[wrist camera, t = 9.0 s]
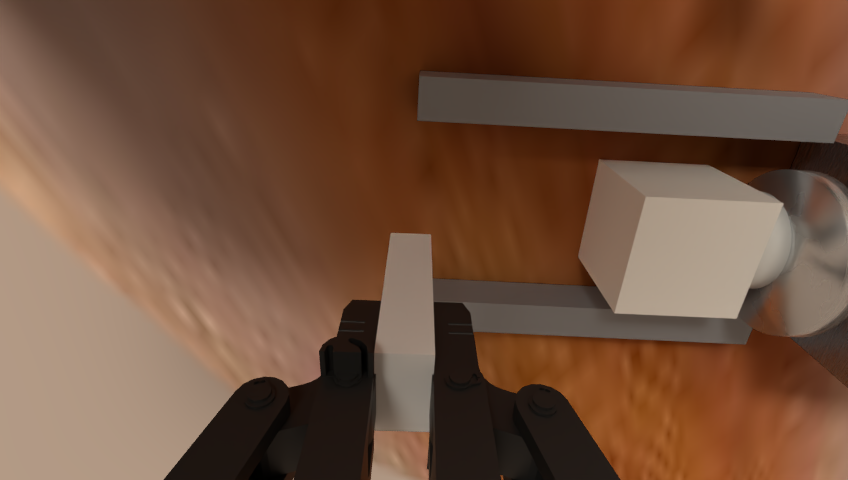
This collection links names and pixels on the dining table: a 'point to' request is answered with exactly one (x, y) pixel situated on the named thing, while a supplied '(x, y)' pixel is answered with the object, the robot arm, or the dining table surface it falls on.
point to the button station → (810, 257)
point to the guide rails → (621, 112)
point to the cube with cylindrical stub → (680, 239)
